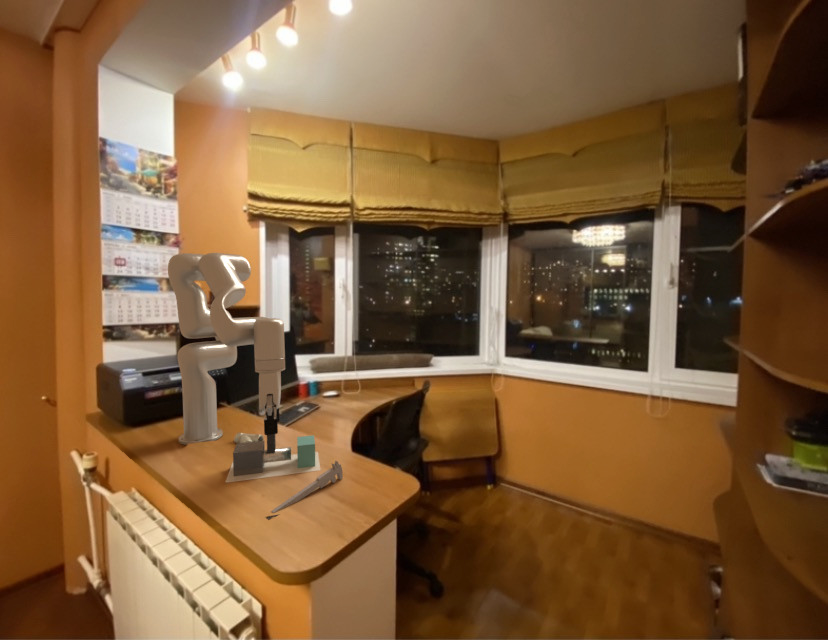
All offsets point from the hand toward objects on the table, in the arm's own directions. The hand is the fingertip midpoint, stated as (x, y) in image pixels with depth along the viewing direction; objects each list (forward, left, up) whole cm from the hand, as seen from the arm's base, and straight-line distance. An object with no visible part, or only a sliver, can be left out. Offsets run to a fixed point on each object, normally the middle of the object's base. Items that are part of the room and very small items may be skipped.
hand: (272, 427), depth 100 cm
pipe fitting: (-19, -9, -12) cm, 24 cm away
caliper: (+17, +8, -12) cm, 23 cm away
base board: (0, +1, -12) cm, 12 cm away
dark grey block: (0, -6, -11) cm, 12 cm away
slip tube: (0, -2, -10) cm, 10 cm away
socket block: (0, +9, -11) cm, 14 cm away
